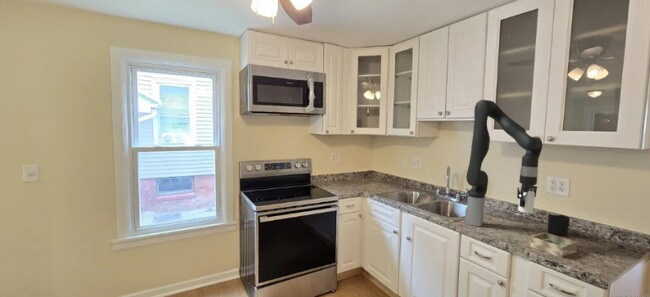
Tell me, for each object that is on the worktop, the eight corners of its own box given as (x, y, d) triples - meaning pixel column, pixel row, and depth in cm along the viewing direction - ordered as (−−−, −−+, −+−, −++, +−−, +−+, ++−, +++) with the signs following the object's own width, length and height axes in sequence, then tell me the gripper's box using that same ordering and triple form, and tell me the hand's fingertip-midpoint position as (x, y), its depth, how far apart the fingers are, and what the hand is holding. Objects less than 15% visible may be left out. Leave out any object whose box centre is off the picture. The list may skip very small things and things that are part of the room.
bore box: (528, 246, 144) (529, 236, 144) (543, 241, 150) (544, 232, 150) (561, 257, 131) (562, 247, 131) (576, 252, 138) (577, 242, 137)
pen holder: (564, 237, 156) (566, 220, 155) (544, 232, 163) (545, 215, 163) (570, 234, 161) (572, 217, 160) (550, 229, 169) (552, 212, 168)
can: (526, 210, 154) (528, 188, 153) (535, 213, 148) (538, 191, 147) (515, 209, 154) (517, 188, 153) (523, 213, 148) (526, 191, 147)
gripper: (528, 172, 156) (525, 202, 157) (513, 174, 149) (510, 205, 151) (544, 175, 149) (541, 206, 151) (528, 177, 143) (525, 209, 144)
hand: (525, 205), depth 151 cm, fingers closed on can, 6 cm apart
